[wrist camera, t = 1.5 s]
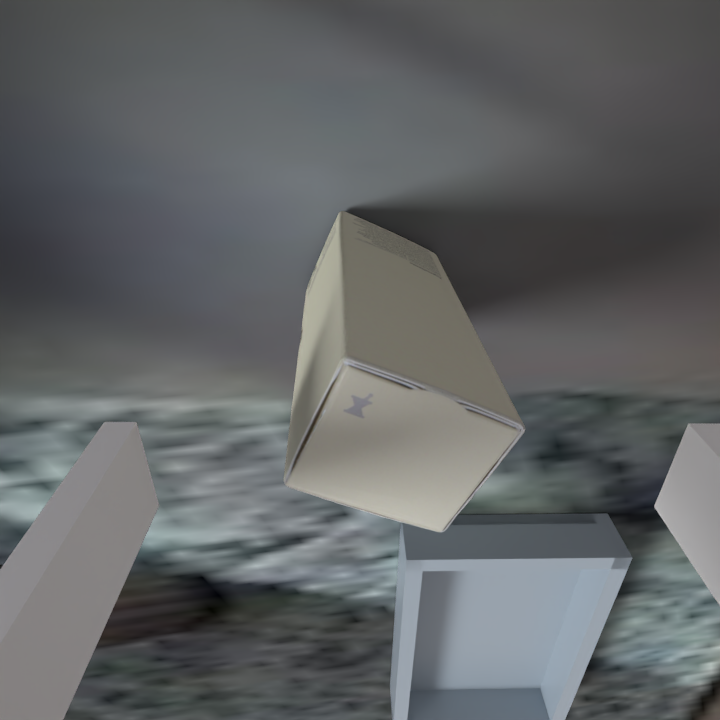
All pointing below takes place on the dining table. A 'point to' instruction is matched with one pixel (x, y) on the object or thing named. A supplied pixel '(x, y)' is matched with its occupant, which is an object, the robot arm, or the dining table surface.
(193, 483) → the dining table surface
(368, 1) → the dining table surface
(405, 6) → the dining table surface
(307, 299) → the box
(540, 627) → the bin
